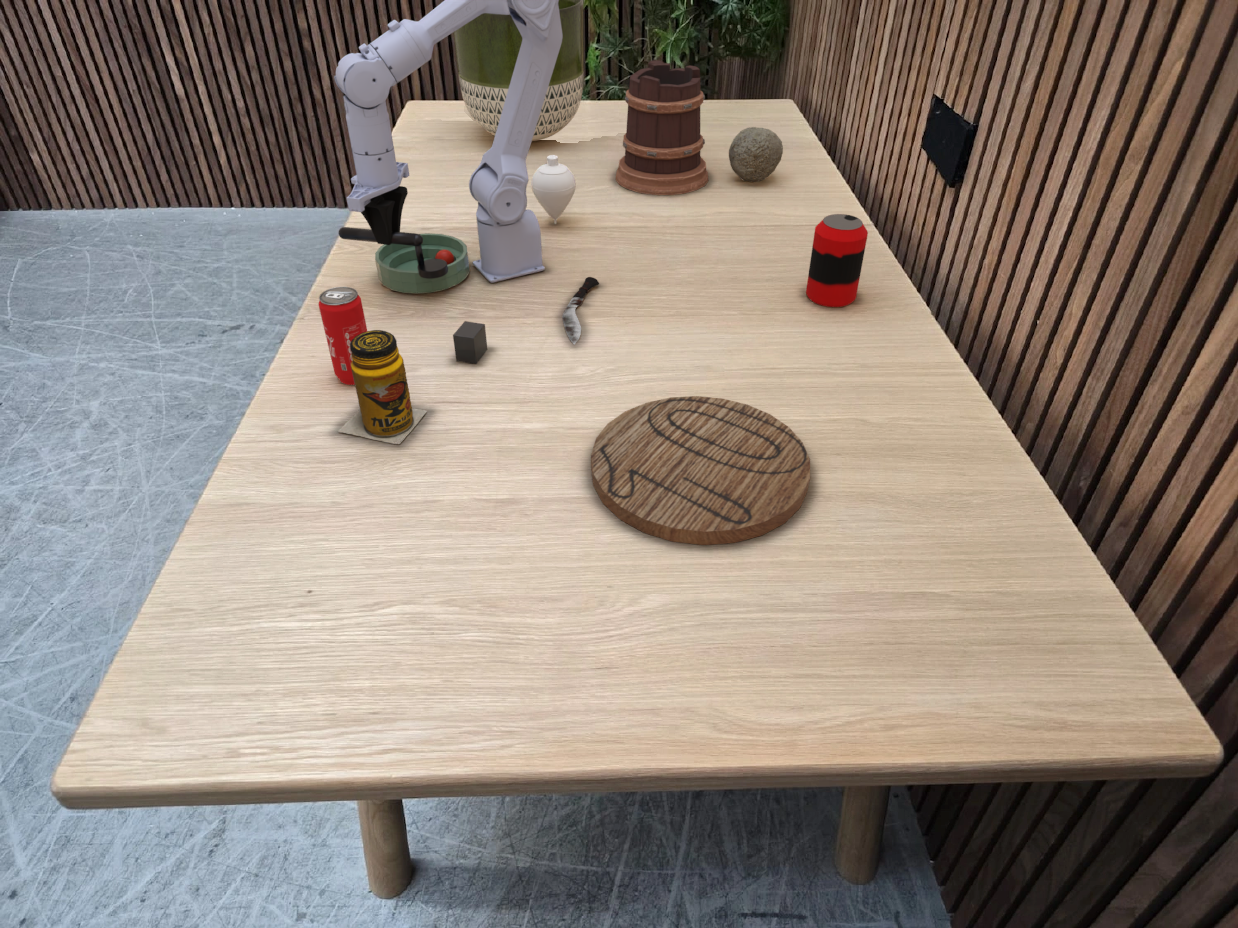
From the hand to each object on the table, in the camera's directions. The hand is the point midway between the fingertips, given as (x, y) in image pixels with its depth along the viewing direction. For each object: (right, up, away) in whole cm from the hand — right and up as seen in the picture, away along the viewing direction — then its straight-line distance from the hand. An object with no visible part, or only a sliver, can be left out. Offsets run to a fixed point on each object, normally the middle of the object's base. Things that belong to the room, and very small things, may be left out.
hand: (388, 240), depth 132 cm
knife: (+29, -11, 0) cm, 31 cm away
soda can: (+67, -8, +4) cm, 67 cm away
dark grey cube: (+14, -18, -10) cm, 25 cm away
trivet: (+44, -34, -29) cm, 63 cm away
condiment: (+5, -28, -22) cm, 36 cm away
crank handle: (0, -4, +3) cm, 5 cm away
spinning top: (+23, +9, +25) cm, 35 cm away
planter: (+14, +38, +63) cm, 75 cm away
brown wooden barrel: (+43, +24, +45) cm, 66 cm away
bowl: (+3, -3, +9) cm, 10 cm away
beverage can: (-1, -22, -14) cm, 26 cm away
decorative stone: (+61, +22, +42) cm, 77 cm away
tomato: (+7, -1, +9) cm, 11 cm away
